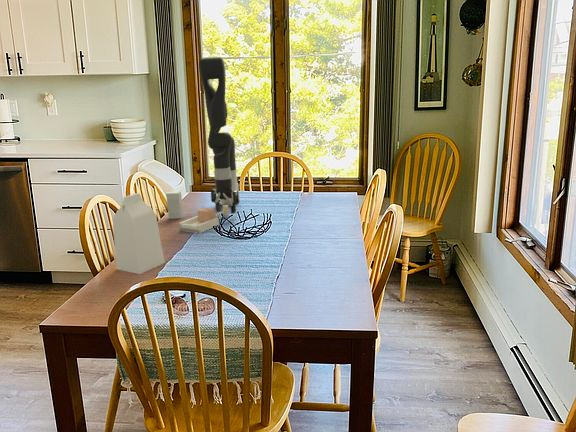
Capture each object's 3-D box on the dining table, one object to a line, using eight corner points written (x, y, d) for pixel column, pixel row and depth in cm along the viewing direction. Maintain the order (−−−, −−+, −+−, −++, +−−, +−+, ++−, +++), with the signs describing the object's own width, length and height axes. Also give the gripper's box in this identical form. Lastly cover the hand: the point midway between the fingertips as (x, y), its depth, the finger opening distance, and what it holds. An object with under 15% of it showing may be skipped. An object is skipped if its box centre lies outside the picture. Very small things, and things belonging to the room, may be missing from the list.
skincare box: (183, 216, 263) (181, 191, 260) (181, 218, 259) (178, 193, 256) (171, 216, 264) (168, 191, 261) (168, 218, 260) (165, 193, 257)
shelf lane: (200, 222, 251) (199, 215, 250) (219, 225, 245) (218, 217, 244) (180, 230, 240) (179, 222, 239) (199, 233, 235) (199, 225, 234)
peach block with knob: (222, 213, 260) (221, 201, 258) (233, 215, 257) (232, 202, 255) (198, 223, 246) (197, 210, 245) (209, 225, 243) (207, 211, 242)
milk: (139, 274, 193) (130, 200, 186) (116, 269, 199) (106, 197, 192) (164, 262, 202) (156, 192, 195) (141, 258, 208) (133, 190, 201)
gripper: (240, 176, 252) (243, 211, 256) (215, 174, 259) (218, 208, 264) (230, 180, 246) (233, 215, 250) (205, 177, 253) (208, 212, 258)
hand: (225, 212), depth 257 cm, fingers open, 8 cm apart
